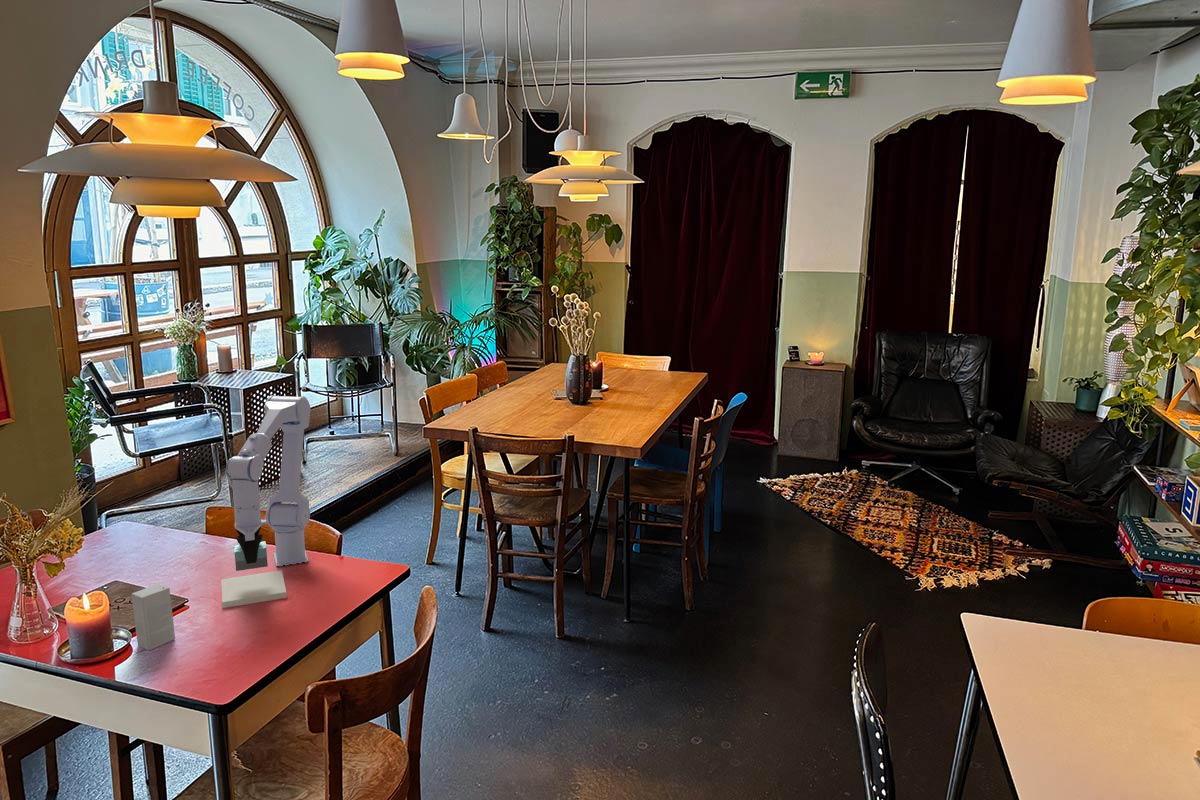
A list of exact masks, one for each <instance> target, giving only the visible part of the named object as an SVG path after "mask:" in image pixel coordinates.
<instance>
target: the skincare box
mask: <svg viewBox="0 0 1200 800" xmlns="http://www.w3.org/2000/svg"><path fill="white" fill-rule="evenodd" d="M130 595H131V603H132V609H133V618H134V626H135V633H136V640H137V641H136V642H137V646H138V647H139V648H142V649H144V650H146V651H152V650H154V649H155V648H156V649H157V648H158V647H160V646H162V645H164V644H167V643H169V642H171V641H173V640H175V639H176V634H175V626H174V624H175V623H174V617H173V616H174V615H173V607H172V599H171V590H170V587H169V586H165V585H163V584H160V583H156V584H153V585H150V586H148V587H145V588H143V589H140V590H137V591H135V592H132V593H131V594H130Z"/></svg>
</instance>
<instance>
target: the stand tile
mask: <svg viewBox="0 0 1200 800" xmlns="http://www.w3.org/2000/svg"><path fill="white" fill-rule="evenodd" d="M220 581H221V584H220V585H221V605H222V609H226V608H232V607H239V606H244V605H245V606H246V605H252V604H256V603H264V602H268V601H269V602H270V601H275V600H281V598H282V599H287V598H288V596H287V589H286V584H285V579H284V574H283V570H282V569H281V570H274V571H267V572H262V573H255V574H253V573H252V574H249V575H242V576H235V577H229V578H222V579H221V580H220Z"/></svg>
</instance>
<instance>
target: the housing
mask: <svg viewBox="0 0 1200 800" xmlns="http://www.w3.org/2000/svg"><path fill="white" fill-rule="evenodd" d="M233 551H234V562H235V564H234V565H235V571H236V572H237V571H238V572H239V571H245V570H246V571H247V570H252V569H253V570H254V569H259V568H267V567H268V565H269V564H268V552H267V543H266V541H264V540H263V541H261V542H260V544H259V548H258V556H257V561H256V563H250V564H247V563H246V560H245V557H244V553H243V550H242V548H241V546H240V544H234V548H233Z"/></svg>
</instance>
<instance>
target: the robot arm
mask: <svg viewBox="0 0 1200 800" xmlns="http://www.w3.org/2000/svg"><path fill="white" fill-rule="evenodd" d="M310 420H311V405H310V403H309V399H308V398H307V397H306V396H302V395H301V396H290V395H289V396H288V395H287V396H283V395H282V396H281V395H269V396H268V397H267V398H266V400H265V403H264V417H263V419H262V421H261V422H260V423H261V424H260V425H259V428H258V429H257V432H256V433H252V434H250V435H249V436H248V437H247V439H246V441H245V442H244V444H243V446H242V447H241V449H240V450H239V452H238V454H237V455H235V456H232V457H231V458H229V459H228V461H227V462H226V466H225V471H224V472H225V476H226V478H227V480H228V483H229V484H228V485H229V486H230V488H231V489H232V490H231V491H232V500H233V510H234V528H235V530H236V532H237V534H238V535H236V536H235V537H236V541H237V543H238V545H240V546H241V548H242V550H243V553H244V557H245V560H246V563H247V564H250V563H256V561H257V556H258V548H259V544H260V542H262V539H263V534H262V533H261V534H259V533H260V532H261V529H262V526H264V525H268V526H269V527H271V530H272V531H274V541H275V542H274V543H275V552H273V557H274V562H275V567H277V566H279V567H284V566H283V565H285V566H290V565H289V564H292V565H296V564H295V563H299V564H303V563H302V562H305V563H309V558H308V555H307V551H306V547H305V546H306V545H305V529H304V528H306V527H307V525H308V524H309V522H310V519H311V510H310V500H309V498H307V496H305V495H304V494H303V493H302V492H301V491H300V485H301V475H302V474H301V472H302V461H303V459H302V457H303V447H304V434H305V429H307V428H309V427H310ZM279 429H281V431H282V432H283V439H282V449H281V450H282V451H281V462H280V472H279V474H280V475H279V484H278V485H279V487H278V488H279V489H278V492H277V493H275V494H273V496H271V497H269V500H268V506H267V509H266V511H265V519H262V515H261V513H262V512H261V501H260V500H261V499H260V489H259V488H260V487H259V480H260V478H261V476H262V474H263V467H264V465H265V462H264V461H265V459H266V457H267V455H268V454H269V452H270V450H271V448H272V446H273V445H272V441H271V440H272V438H273V437H274V436H275V434H276V433H277V431H278V430H279Z"/></svg>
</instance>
